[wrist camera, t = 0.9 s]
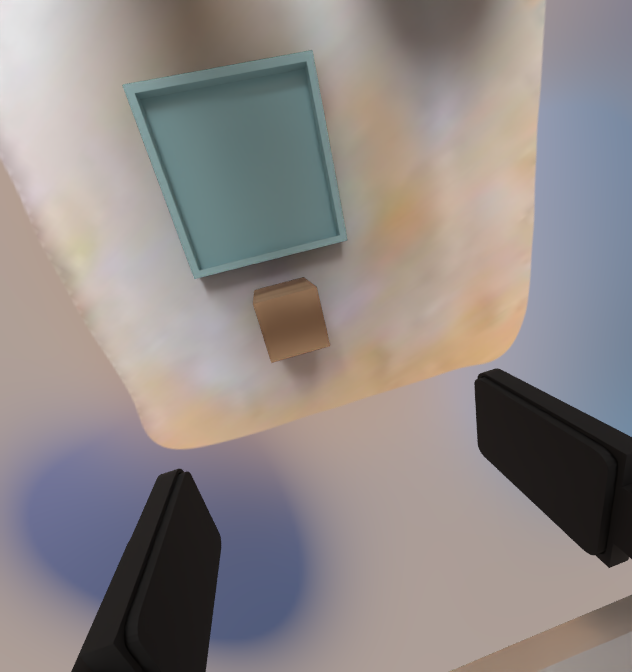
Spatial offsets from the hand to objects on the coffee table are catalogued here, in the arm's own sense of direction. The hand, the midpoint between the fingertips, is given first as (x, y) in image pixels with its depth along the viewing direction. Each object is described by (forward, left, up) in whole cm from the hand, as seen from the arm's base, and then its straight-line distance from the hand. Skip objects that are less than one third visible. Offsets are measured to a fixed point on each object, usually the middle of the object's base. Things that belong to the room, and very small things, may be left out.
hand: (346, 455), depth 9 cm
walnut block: (0, 0, -22) cm, 22 cm away
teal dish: (-12, 0, -22) cm, 25 cm away
